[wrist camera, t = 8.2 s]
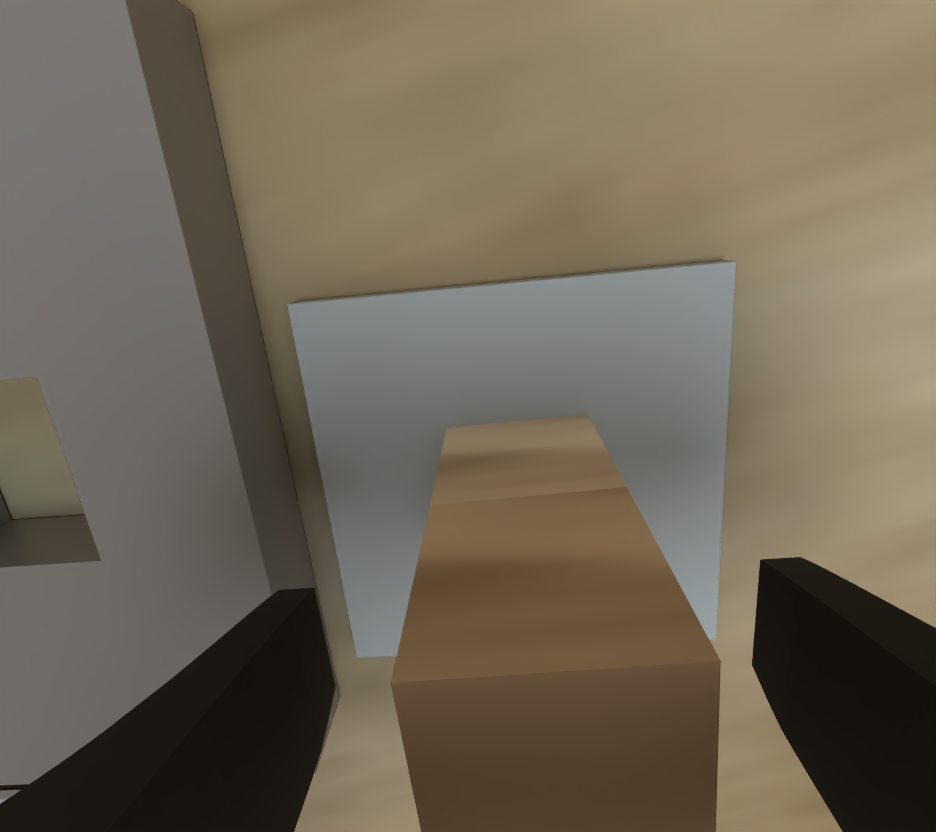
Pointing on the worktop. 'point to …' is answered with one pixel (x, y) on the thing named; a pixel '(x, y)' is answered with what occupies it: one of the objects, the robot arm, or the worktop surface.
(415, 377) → the mat
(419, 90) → the worktop surface
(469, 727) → the plug
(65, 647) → the grey flat plate
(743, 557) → the worktop surface
